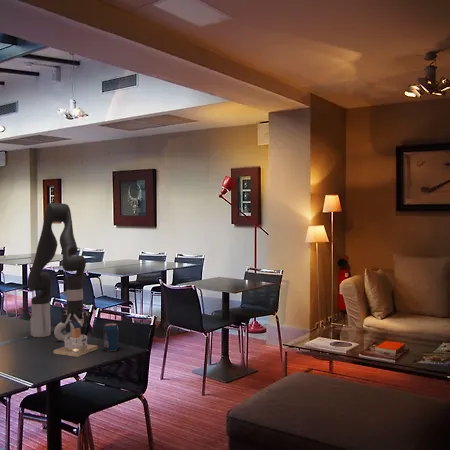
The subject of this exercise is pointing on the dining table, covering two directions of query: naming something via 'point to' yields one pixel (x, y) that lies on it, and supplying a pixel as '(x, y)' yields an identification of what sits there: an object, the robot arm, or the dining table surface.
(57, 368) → the dining table surface
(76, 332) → the orange block with base
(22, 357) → the dining table surface
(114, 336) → the soda can
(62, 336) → the donut
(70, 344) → the candle holder
